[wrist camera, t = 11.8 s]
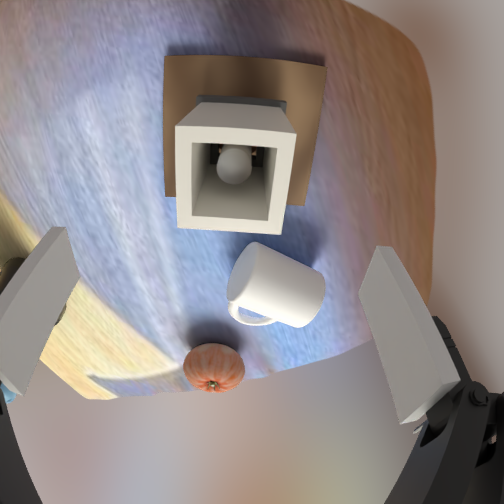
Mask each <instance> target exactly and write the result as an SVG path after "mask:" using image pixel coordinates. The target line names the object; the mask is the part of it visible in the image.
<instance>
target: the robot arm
mask: <svg viewBox="0 0 504 504" xmlns="http://www.w3.org/2000/svg"><path fill="white" fill-rule="evenodd" d="M79 278H80V274H79V271H78V268H77V265H76V261H75V258H74V255H73V251H72V248H71V245H70V241H69V237H68V234H67V230H66V227H52V228H51V229H50V230H49V231H48V232H47V234H46V235H45V236H44V237H43V238H42V240H41V241H40V242H39V243H38V245H37V246H36V247H35V248H34V250H33V251H32V252H31V253H30V255H29V256H28V257H27V259H26V260H25V259H22V258H13V259H10V260H9V261H8V262H7V263H6V264H5V266H4V267H3V268H2V270H1V272H0V504H42V501H41V499H40V497H39V496H38V493H37V491H36V489H35V486H34V484H33V482H32V480H31V477H30V475H29V473H28V470H27V468H26V465H25V463H24V460H23V457H22V455H21V452H20V449H19V446H18V443H17V440H16V437H15V434H14V431H13V428H12V424H11V421H10V417H9V414H8V410H7V406H6V403H11V402H12V401H13V400H14V399H15V397H16V394H19V395H21V396H24V395H25V392H26V390H27V387H28V384H29V382H30V379H31V377H32V374H33V372H34V369H35V367H36V364H37V362H38V360H39V358H40V355H41V353H42V351H43V349H44V346H45V344H46V342H47V340H48V338H49V336H50V334H51V331H52V329H53V327H54V326H55V325H56V324H58V323H59V322H60V320H61V318H62V316H63V314H64V313H65V310H66V302H67V300H68V298H69V296H70V294H71V292H72V291H73V289H74V287H75V285H76V283H77V282H78V280H79ZM358 296H359V298H360V301H361V304H362V307H363V309H364V312H365V315H366V318H367V320H368V323H369V326H370V329H371V332H372V335H373V338H374V340H375V343H376V346H377V349H378V353H379V356H380V359H381V362H382V365H383V368H384V371H385V374H386V377H387V381H388V384H389V387H390V391H391V394H392V398H393V401H394V405H395V409H396V412H397V416H398V420H399V423H400V424H402V423H407V422H412V421H416V420H418V419H419V418H420V417H421V416H423V415H424V414H425V413H426V415H427V418H428V419H427V420H426V421H425V422H423V423H422V424H421V425H420V426H418V427H417V428H416V429H415V430H414V432H413V433H414V434H415V433H417V432H418V431H420V430H421V432H420V434H419V435H418V438H417V441H416V443H415V445H414V448H413V450H412V452H411V454H410V456H409V458H408V460H407V463H406V465H405V467H404V468H403V471H402V473H401V474H400V476H399V478H398V480H397V482H396V484H395V486H394V487H393V489H392V491H391V493H390V495H389V496H388V498H387V500H386V501H385V503H384V504H504V392H503V393H502V394H497V393H489V392H488V391H487V389H486V388H485V387H484V386H483V385H482V384H481V383H479V382H476V381H473V382H472V380H471V378H470V376H469V374H468V371H467V369H466V367H465V365H464V362H463V360H462V358H461V356H460V354H459V351H458V349H457V348H455V346H456V345H455V343H454V341H453V339H451V335H450V333H449V331H448V329H447V327H446V325H445V324H444V323H443V322H442V321H441V320H440V319H439V318H438V317H437V316H431V315H430V313H429V311H428V309H427V307H426V305H425V303H424V302H423V300H422V298H421V296H420V294H419V292H418V291H417V289H416V287H415V285H414V283H413V282H412V280H411V278H410V276H409V275H408V273H407V271H406V269H405V268H404V266H403V264H402V263H401V261H400V259H399V258H398V256H397V254H396V253H395V251H394V250H393V248H392V247H387V246H376V249H375V252H374V254H373V257H372V260H371V262H370V265H369V267H368V270H367V272H366V275H365V277H364V280H363V282H362V285H361V287H360V290H359V292H358ZM494 435H497V436H496V442H494V443H493V444H492V441H491V438H492V437H493V436H494Z"/></svg>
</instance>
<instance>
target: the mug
mask: <svg viewBox="0 0 504 504" xmlns="http://www.w3.org/2000/svg"><path fill="white" fill-rule="evenodd" d="M324 295H325V280H324V277H323V275H322V274H321V273H320V272H318V271H316V270H314V269H312V268H310V267H308V266H306V265H304V264H302V263H300V262H298V261H296V260H294V259H292V258H289V257H287V256H285V255H283V254H281V253H279V252H277V251H275V250H273V249H271V248H269V247H267V246H265V245H263V244H260V243H258V242H251V243H250V244H249V245H247V246H246V247H245V249H244V250H243V251H242V253H241V254H240V256H239V257H238V259H237V261H236V263H235V265H234V267H233V269H232V272H231V275H230V278H229V281H228V285H227V299H228V301H229V303H228V310H229V313H230V314H231V316H232V317H233V318H234V319H236V320H237V321H239V322H241V323H243V324H246V325H267V324H271V323H274V322H276V321H280V322H282V323H285V324H288V325H291V326H293V327H303V326H305V325H307V324H308V323H309V322H310V321H311V320H312V319H313V318H314V317H315V316H316V314H317V313H318V311H319V309H320V307H321V305H322V302H323V299H324ZM239 306H240V307H243V308H246V309H248V310H251V311H253V312H256V313H259V314H261V315H264V316H265V317H261V318H257V317H251V316H248V315H245V314H242V313H240V312H239V311H238V308H239Z"/></svg>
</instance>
